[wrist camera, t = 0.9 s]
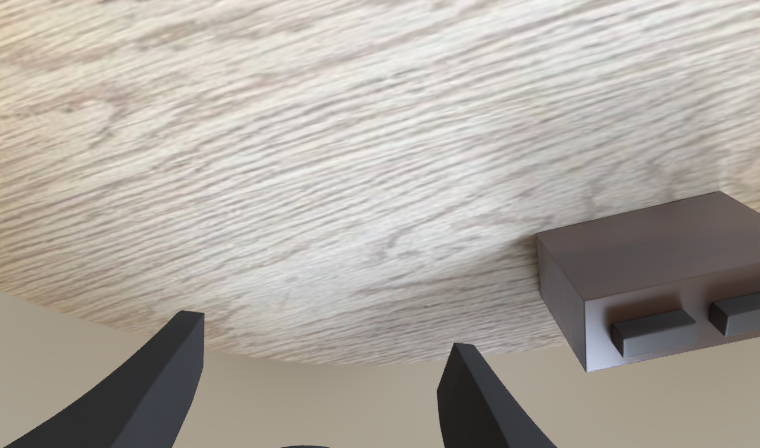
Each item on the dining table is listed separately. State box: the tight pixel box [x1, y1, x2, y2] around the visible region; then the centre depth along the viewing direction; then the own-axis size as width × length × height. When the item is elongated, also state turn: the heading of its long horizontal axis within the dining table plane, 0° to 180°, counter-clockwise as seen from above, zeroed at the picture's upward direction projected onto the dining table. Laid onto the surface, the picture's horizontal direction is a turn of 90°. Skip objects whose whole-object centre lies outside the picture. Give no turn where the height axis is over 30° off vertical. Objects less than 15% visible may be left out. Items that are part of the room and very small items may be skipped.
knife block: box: [536, 191, 760, 372], centre depth 22 cm, size 4×10×7 cm, turn 104°
